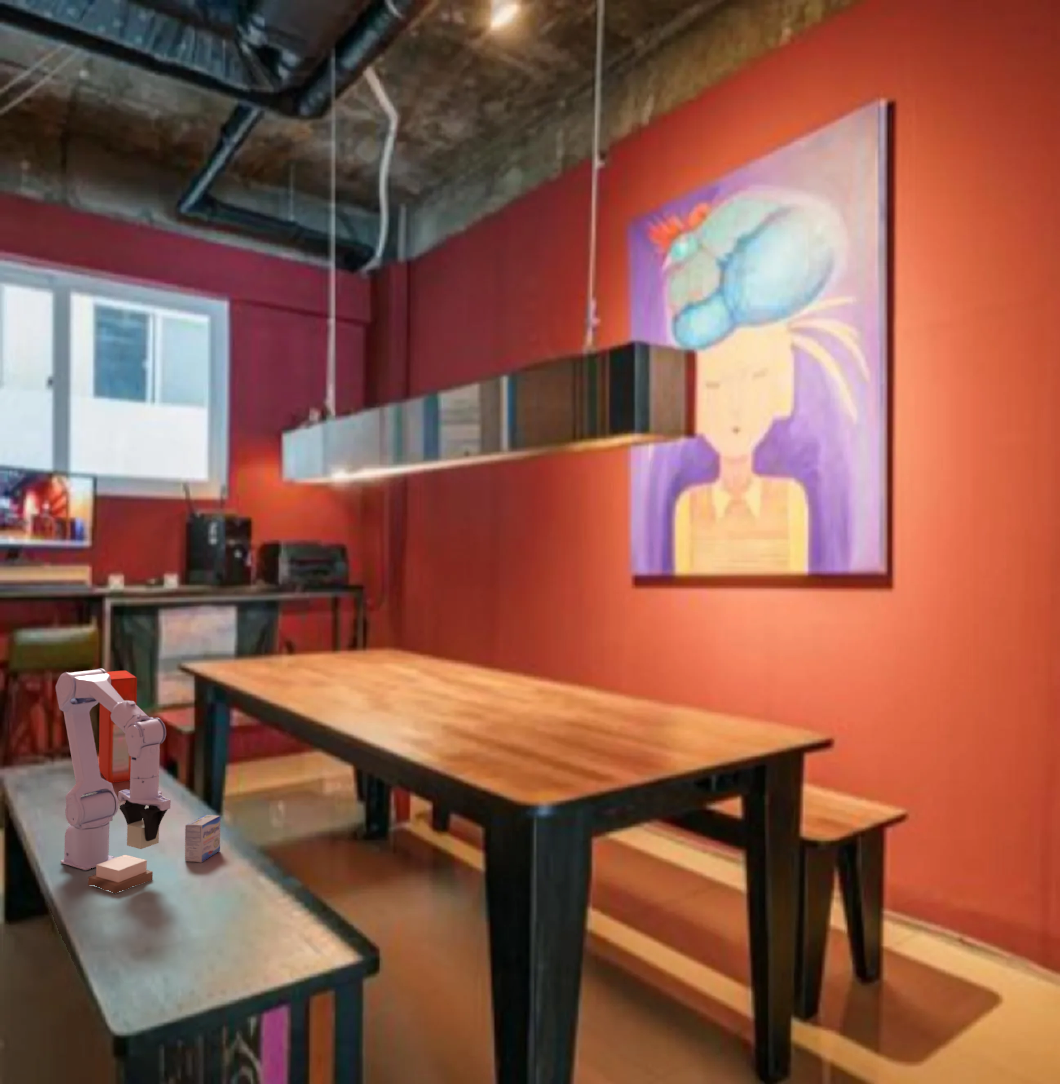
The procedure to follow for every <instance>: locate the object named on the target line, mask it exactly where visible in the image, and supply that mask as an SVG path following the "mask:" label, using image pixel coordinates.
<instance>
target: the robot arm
mask: <svg viewBox="0 0 1060 1084" xmlns="http://www.w3.org/2000/svg"><path fill="white" fill-rule="evenodd" d="M107 672H108V671H107V670H105V669H104V668H96V669H92V670H91V669H90V670H83V671H74V672H69V671H68V672H67V671H65V672H63V673H61V674H60V676H59V677H58V680H57V682H56V684H55V692H56V693H55V694H56V700H57V704H58V708H59V711H62V712H63V715H64V717H63V718H64V723H65V728H66V734H67V739H68V744H69V750H70V755H71V762H72V768H73V773H74V779H75V785H73V787H72V788H71V789H70V790H69V791H68V792H67V793H66V795H65V812H64V813H65V814H64V815H65V819H66V821H67V823H68V824H69V826H68V827H67V828H66V830H65V833H64V849H63V850H64V851H63V852H64V857H63V859H61V860H60V863H61V864H64V865H67V866H71V867H73V868H75V869H76V868H77V869H79V870H83V871H88V870H91V868H92V869H93V868H94V869H95V868H96V865H97V864H100V863H103V862H106V861H109V860H111V859H114V858H117V857H118V856H113V855H110V854H109V853H110V823H111V822H113V817H115V815H116V814H117V813H118V810H120V811H121V813H122V815H123V817H124V819H125V821H126V825H128V824H131V823H134V822H138V821H141V820H143V821H144V828H145V839H146V841H150V840H153V839H156V836H157V832H158V829H159V830H160V826H161V824H162V823H161V822H162V820H163V818H164V817H165V814H166V813H167V811H168V810H170V809H171V799H170V798H166V797H165V796H163V795H162V794H163V791H160V790H159V789H160V787H159V785H160V784H159V782H160V779H159V778H160V750H161V749H160V747H161V744H163V743H164V741H165V740H166V736H167V729H166V725H165V723H164V722H163V720H162V719H161V718H159V717H153V716H149V715H147V713H146V712H145V711H143V710H142V708H140V706H138V705H137V703H135V702H134V701H124V700H123V699H122V697H121V696H120V695H119V694H118V693H117V691H116V690H115V689H114V688H113V687H112V685H111V677H110V675H109V674H108V673H107ZM98 704H99V705H100V704H102V705H103V706H104V707H105V708H107V709H108V710H109V711H110V712H111V720H112V721H113V722H114V723H115V724H116V725H117V726H118V727H119V728H120V729H121V730H122V731H123V732H124V733H125V739H126V743H127V745H128V753H129V756H131V772H130V780H129V789H122V790H120V791H118V792H117V793H118V796H117V793H116V792H115V789H114V786H113V783H110V782H108V781H107V780H106V779H105V778H102V776H101V775H102V774H101V772H100V769H99V757H98V754H97V750H96V749H97V748H96V742H95V737H94V731H93V726H92V721H91V716H90V715H91V714H90V713H91V710H92V709H93V707H95V706H96V705H98ZM91 793H92V794H91ZM88 794H89V795H88ZM121 801H125V802H124V804H121V805H119V804H120V803H119V802H121ZM147 806H148V807H147Z"/></svg>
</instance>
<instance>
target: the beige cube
mask: <svg viewBox="0 0 1060 1084" xmlns="http://www.w3.org/2000/svg"><path fill="white" fill-rule="evenodd" d="M126 825H127V824H126ZM126 827H127V828H126V832H127V833H126V846H128V847H131V848H135V849H138V850H143V849H146V848H148V847H151V846H154V845H157V844H159V840H160V828H159V829H158V832H157V836H156V839H153V840H150V841H146V839H145V828H144V821H143V819H142V820H141V821H138V822H134V823H131V824H128V825H127V826H126Z"/></svg>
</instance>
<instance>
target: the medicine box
mask: <svg viewBox="0 0 1060 1084" xmlns="http://www.w3.org/2000/svg"><path fill="white" fill-rule="evenodd" d="M221 818H222V817H221V815H215V814H205V815H202V816H200V817H198V818H197V819H194V820H193V821H191V822H188V823H187V824H185V828H184V830H185V831H184V835H185V836H184V842H185V843H184V861H185V862H189V863H191V862H192V863H203V862H205V861H206V859H207V860H208V859H210V858H211V857H213V856H214V855H216V854H218V853H219V852H220V851H221ZM217 852H218V853H217ZM212 855H213V856H212ZM209 857H210V858H209ZM204 860H205V861H204Z"/></svg>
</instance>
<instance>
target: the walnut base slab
mask: <svg viewBox="0 0 1060 1084" xmlns="http://www.w3.org/2000/svg"><path fill="white" fill-rule="evenodd" d="M153 872H154V871H153V870H150V869H146V872H144V873H142V874H139V875H136V876H134V877H131V878H129V879H126V880H124V881H121V882H114V881H111V880H107V879H104V878H100V877H96V873H95V874H92V875H91V876H88V878H87V879H88V880H87V884H88V885H95V886H97V887H100V888H102V889H104V890H109V891H111V892H113V893H117V892H119V891H122V890H125V891H127V890H129V889H128V888H130V887H132V886H135V885H138V886H140V885H143V884H145V883H148V882H150V881H153V874H154V873H153ZM147 881H148V882H147ZM144 882H145V883H144ZM142 883H143V884H142ZM139 884H140V885H139ZM135 887H136V886H135ZM132 888H133V887H132ZM126 889H127V890H126ZM130 889H131V888H130ZM104 890H103V891H104ZM122 892H123V891H122ZM113 893H112V894H113ZM117 894H118V893H117Z"/></svg>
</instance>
